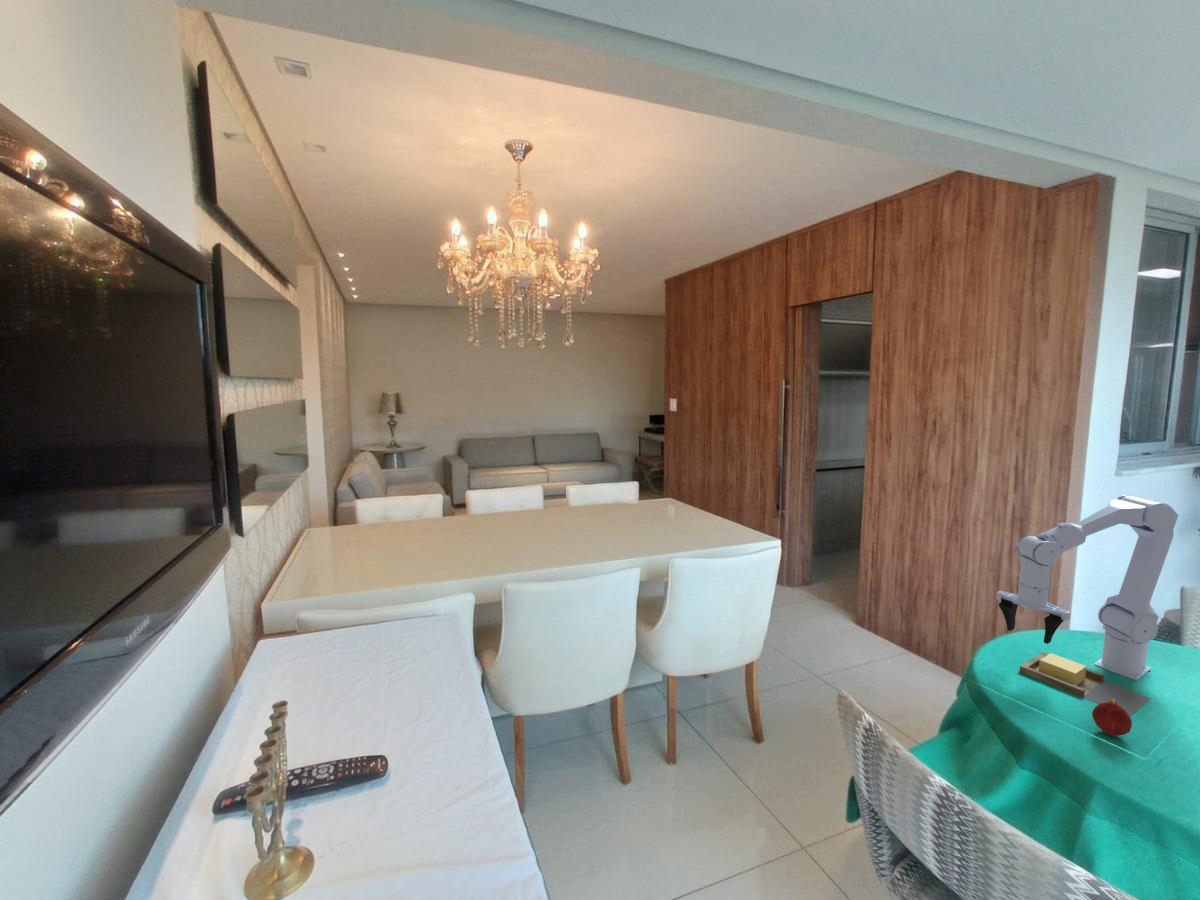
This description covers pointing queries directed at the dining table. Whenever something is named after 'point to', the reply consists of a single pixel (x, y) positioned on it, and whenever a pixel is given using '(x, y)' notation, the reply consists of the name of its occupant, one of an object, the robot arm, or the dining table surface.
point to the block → (1062, 669)
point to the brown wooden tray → (1081, 689)
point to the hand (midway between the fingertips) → (1028, 635)
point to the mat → (1117, 697)
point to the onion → (1112, 718)
